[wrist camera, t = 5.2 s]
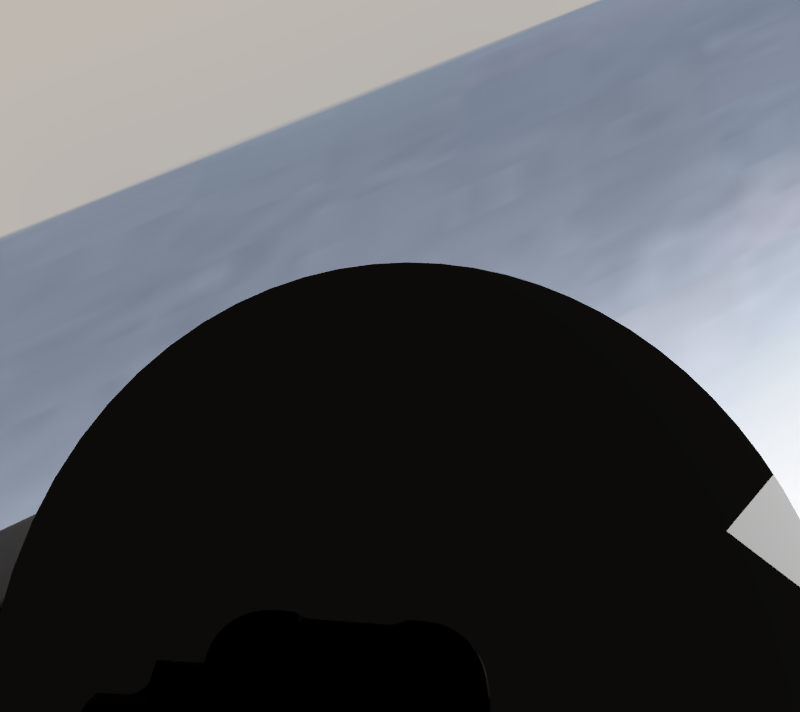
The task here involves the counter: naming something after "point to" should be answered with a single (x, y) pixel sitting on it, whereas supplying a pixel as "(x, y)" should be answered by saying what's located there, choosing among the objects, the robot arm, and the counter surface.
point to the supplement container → (408, 519)
